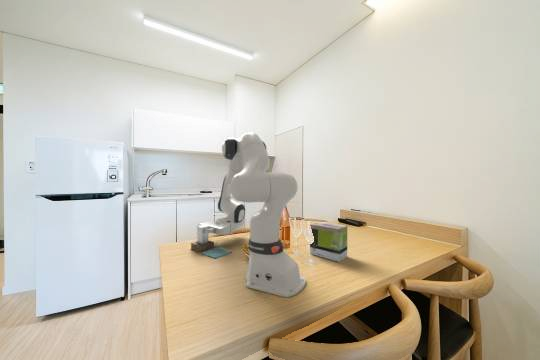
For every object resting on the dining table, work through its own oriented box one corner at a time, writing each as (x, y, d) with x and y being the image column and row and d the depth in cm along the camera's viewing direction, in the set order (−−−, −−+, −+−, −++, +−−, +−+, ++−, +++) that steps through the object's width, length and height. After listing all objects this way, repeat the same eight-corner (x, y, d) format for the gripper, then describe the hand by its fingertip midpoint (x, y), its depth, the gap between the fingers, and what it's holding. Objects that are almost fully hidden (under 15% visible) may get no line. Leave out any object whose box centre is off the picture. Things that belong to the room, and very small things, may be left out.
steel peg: (208, 244, 106) (208, 225, 106) (201, 247, 102) (202, 227, 102) (203, 243, 108) (203, 224, 108) (197, 245, 105) (197, 226, 105)
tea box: (347, 256, 96) (348, 225, 96) (339, 262, 89) (339, 229, 88) (319, 248, 106) (319, 220, 106) (309, 254, 99) (309, 223, 98)
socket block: (214, 247, 106) (214, 242, 106) (200, 252, 100) (200, 246, 100) (204, 244, 111) (204, 239, 111) (191, 248, 104) (191, 243, 104)
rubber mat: (231, 252, 100) (231, 251, 100) (215, 258, 92) (215, 257, 92) (218, 247, 106) (218, 247, 106) (201, 253, 98) (201, 252, 98)
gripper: (210, 218, 122) (189, 222, 110) (234, 222, 110) (214, 227, 98) (210, 228, 122) (189, 233, 110) (234, 234, 110) (214, 240, 99)
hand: (201, 231), depth 104 cm, fingers closed on steel peg, 4 cm apart
